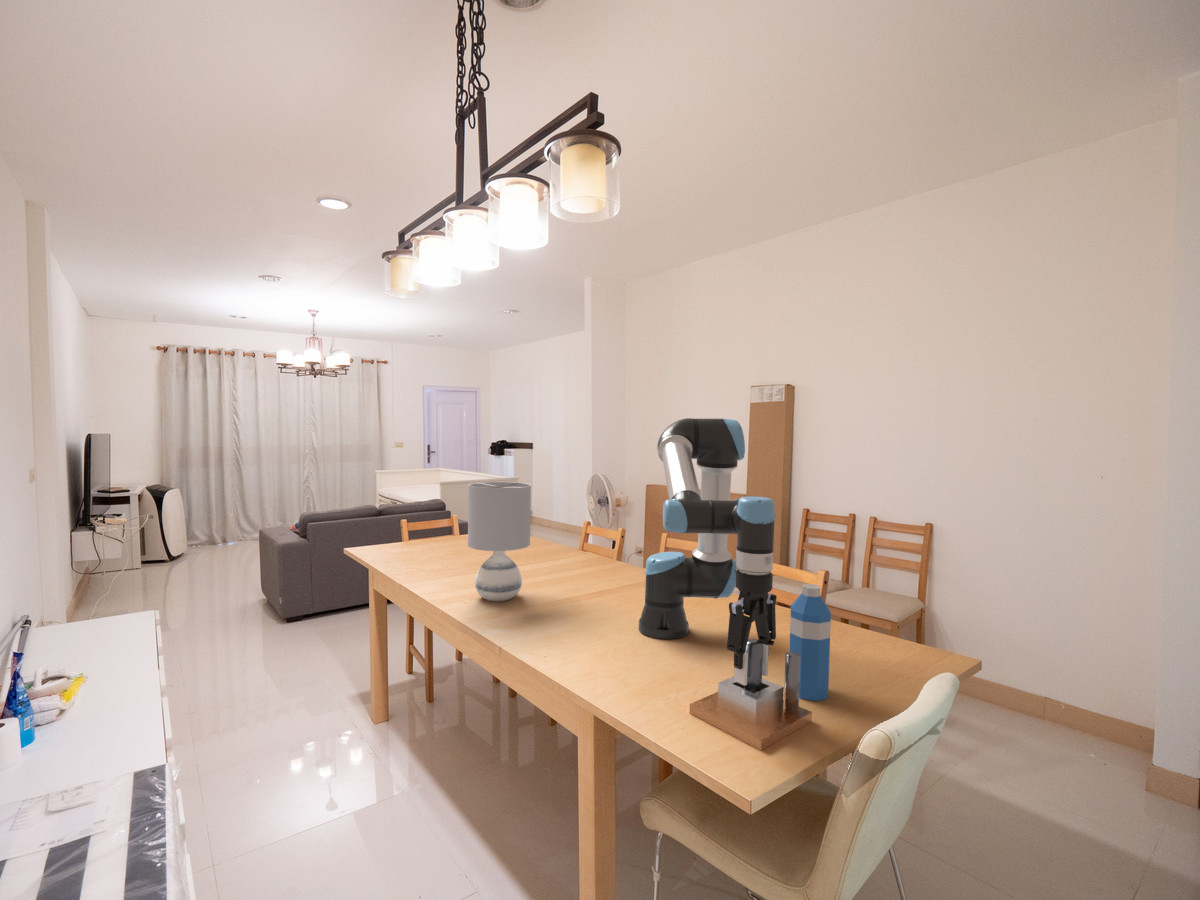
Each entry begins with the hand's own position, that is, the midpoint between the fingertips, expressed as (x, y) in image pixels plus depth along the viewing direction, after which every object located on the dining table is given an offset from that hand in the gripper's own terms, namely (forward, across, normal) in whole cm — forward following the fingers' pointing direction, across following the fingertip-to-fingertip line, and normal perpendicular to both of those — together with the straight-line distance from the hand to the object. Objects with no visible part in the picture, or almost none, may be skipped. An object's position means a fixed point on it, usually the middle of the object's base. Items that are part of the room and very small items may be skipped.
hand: (751, 678), depth 121 cm
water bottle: (+9, +21, -1) cm, 23 cm away
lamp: (+9, -1, +106) cm, 106 cm away
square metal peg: (+6, 0, 0) cm, 6 cm away
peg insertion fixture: (+8, 0, 0) cm, 8 cm away
